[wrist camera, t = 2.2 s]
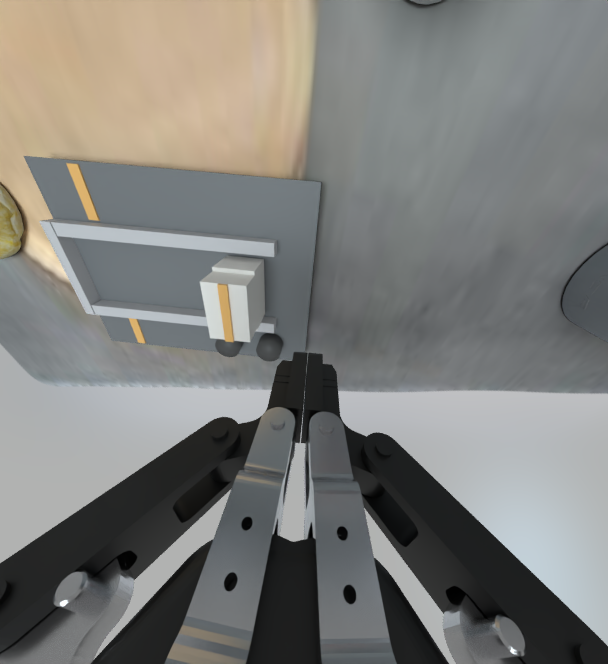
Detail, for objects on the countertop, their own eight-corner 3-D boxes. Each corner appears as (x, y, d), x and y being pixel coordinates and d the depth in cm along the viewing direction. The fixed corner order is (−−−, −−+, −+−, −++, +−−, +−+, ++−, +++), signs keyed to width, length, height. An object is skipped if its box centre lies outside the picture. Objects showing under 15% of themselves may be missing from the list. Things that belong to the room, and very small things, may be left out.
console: (321, 182, 17) (320, 182, 14) (305, 349, 26) (302, 370, 23) (51, 158, 18) (-2, 153, 15) (125, 330, 27) (100, 348, 24)
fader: (263, 259, 19) (245, 282, 14) (265, 313, 21) (249, 347, 17) (227, 255, 19) (197, 278, 14) (233, 310, 21) (209, 343, 17)
